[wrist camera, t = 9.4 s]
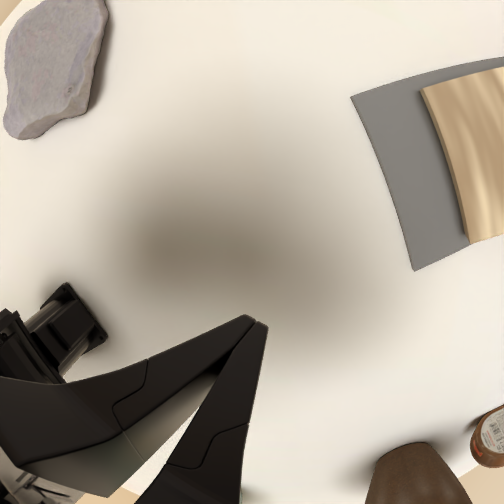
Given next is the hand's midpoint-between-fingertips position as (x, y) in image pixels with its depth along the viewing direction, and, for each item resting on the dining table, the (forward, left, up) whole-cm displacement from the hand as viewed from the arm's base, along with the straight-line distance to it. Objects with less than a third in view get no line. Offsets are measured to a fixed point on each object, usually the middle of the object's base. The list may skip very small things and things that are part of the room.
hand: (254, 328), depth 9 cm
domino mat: (+19, -3, -10) cm, 22 cm away
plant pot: (-1, -33, -11) cm, 35 cm away
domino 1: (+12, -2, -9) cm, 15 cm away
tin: (+15, -35, -11) cm, 40 cm away
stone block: (-6, +21, -11) cm, 24 cm away
